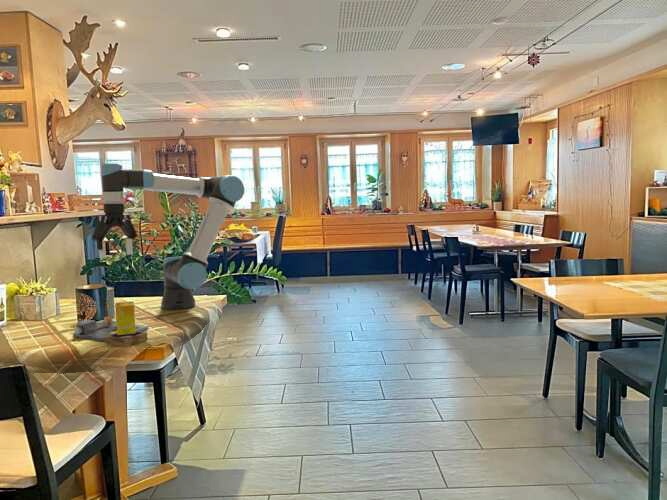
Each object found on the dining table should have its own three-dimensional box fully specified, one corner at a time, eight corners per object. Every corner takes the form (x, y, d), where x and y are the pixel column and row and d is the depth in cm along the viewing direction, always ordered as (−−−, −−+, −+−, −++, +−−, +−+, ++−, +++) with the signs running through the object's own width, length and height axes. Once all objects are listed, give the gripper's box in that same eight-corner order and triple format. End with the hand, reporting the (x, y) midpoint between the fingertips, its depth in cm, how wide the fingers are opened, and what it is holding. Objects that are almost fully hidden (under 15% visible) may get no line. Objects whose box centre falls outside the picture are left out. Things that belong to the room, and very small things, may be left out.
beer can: (105, 321, 203) (103, 291, 202) (84, 319, 205) (83, 290, 203) (119, 315, 212) (118, 287, 211) (100, 314, 214) (98, 286, 213)
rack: (127, 336, 180) (126, 329, 179) (147, 339, 176) (147, 332, 175) (105, 343, 171) (104, 336, 171) (125, 347, 167) (125, 339, 167)
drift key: (106, 324, 191) (105, 316, 191) (111, 325, 190) (111, 317, 190) (74, 333, 179) (73, 325, 178) (79, 334, 177) (79, 326, 177)
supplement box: (116, 333, 175) (115, 302, 173) (135, 331, 177) (133, 301, 176) (117, 337, 169) (115, 306, 168) (135, 335, 172) (134, 304, 170)
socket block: (113, 324, 196) (112, 312, 196) (148, 329, 189) (147, 316, 188) (73, 336, 180) (72, 323, 180) (109, 342, 173) (108, 328, 172)
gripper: (131, 202, 209) (133, 252, 212) (79, 203, 187) (82, 259, 189) (144, 202, 206) (147, 253, 209) (93, 203, 184) (97, 260, 186)
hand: (116, 256), depth 199 cm, fingers open, 13 cm apart
